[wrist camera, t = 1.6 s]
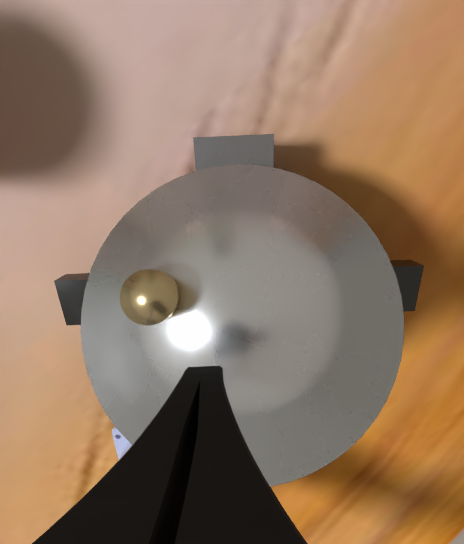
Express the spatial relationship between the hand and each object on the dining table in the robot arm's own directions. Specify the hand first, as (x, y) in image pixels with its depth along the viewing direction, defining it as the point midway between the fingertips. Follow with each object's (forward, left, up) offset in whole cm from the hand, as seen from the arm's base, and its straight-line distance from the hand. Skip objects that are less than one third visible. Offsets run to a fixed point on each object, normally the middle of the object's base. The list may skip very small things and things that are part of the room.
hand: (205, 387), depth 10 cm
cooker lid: (+1, -2, -4) cm, 4 cm away
